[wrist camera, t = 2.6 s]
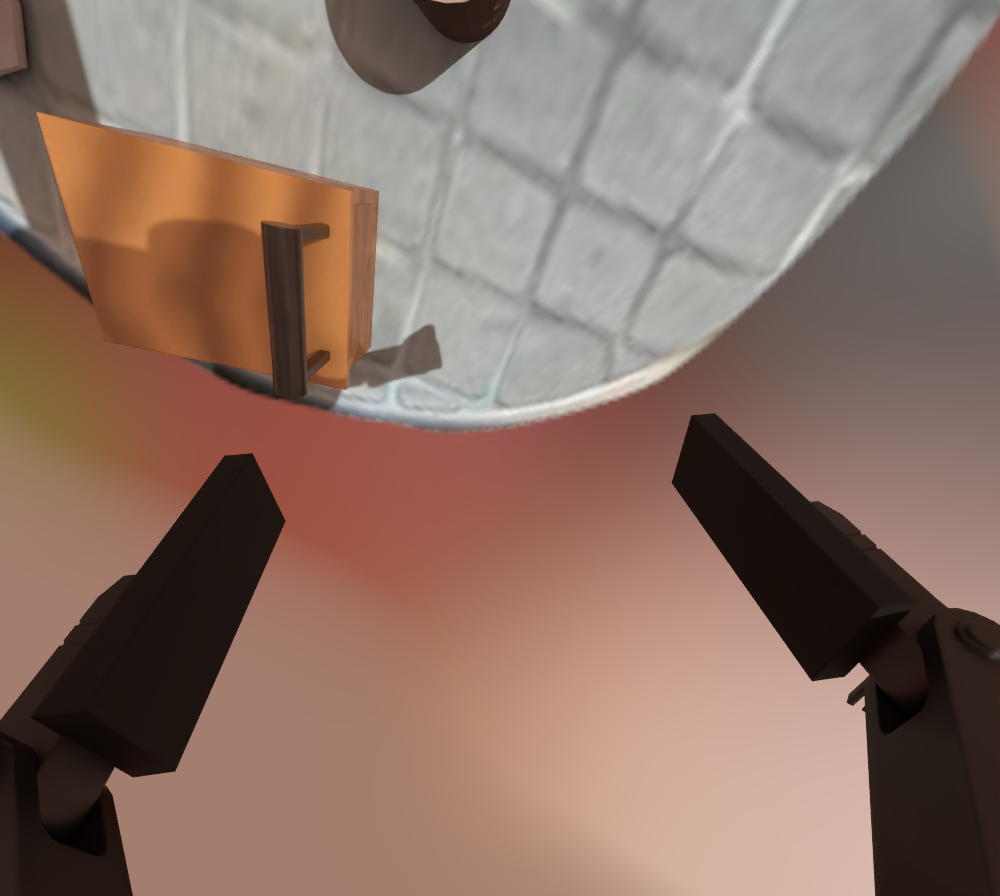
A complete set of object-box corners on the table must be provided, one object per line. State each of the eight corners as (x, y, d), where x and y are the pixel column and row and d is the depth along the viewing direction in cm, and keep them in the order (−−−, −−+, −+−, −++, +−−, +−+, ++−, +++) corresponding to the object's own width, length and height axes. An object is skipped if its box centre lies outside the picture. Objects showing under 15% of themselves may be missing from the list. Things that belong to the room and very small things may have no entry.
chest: (378, 191, 32) (339, 187, 24) (370, 347, 38) (337, 382, 30) (165, 137, 30) (50, 114, 22) (195, 310, 36) (114, 338, 29)
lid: (354, 190, 24) (304, 186, 18) (349, 385, 31) (311, 430, 24) (49, 114, 22) (-121, 80, 16) (113, 338, 29) (9, 374, 23)
